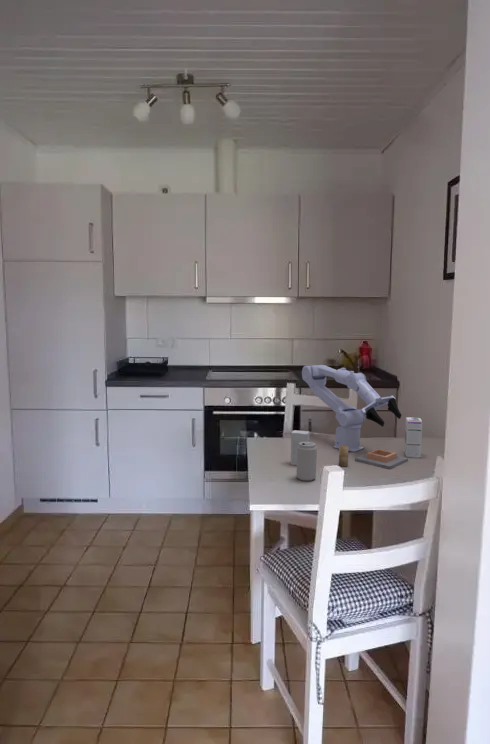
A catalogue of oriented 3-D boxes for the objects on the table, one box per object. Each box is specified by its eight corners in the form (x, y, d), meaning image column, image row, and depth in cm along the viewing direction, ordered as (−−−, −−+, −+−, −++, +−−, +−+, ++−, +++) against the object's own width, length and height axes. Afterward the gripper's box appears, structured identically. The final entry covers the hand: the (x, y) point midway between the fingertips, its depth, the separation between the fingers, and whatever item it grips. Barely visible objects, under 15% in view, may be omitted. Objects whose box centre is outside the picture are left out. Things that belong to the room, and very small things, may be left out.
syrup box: (421, 458, 195) (423, 420, 193) (405, 456, 196) (407, 419, 194) (419, 453, 200) (421, 417, 198) (403, 452, 202) (405, 416, 200)
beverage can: (294, 475, 173) (295, 441, 171) (313, 475, 174) (314, 440, 172) (298, 482, 167) (299, 446, 165) (317, 481, 167) (318, 445, 166)
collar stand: (355, 460, 190) (355, 452, 190) (374, 453, 201) (374, 445, 200) (389, 469, 181) (390, 460, 181) (407, 460, 191) (408, 453, 191)
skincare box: (309, 463, 187) (310, 431, 185) (306, 466, 183) (307, 434, 181) (293, 461, 189) (293, 429, 187) (290, 464, 185) (290, 432, 183)
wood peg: (337, 465, 185) (337, 446, 184) (341, 463, 187) (342, 444, 186) (344, 467, 182) (345, 448, 182) (349, 465, 185) (350, 446, 184)
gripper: (355, 396, 191) (377, 421, 183) (386, 382, 195) (409, 406, 187) (352, 408, 196) (374, 433, 188) (383, 394, 200) (406, 418, 192)
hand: (391, 420), depth 187 cm, fingers open, 7 cm apart
